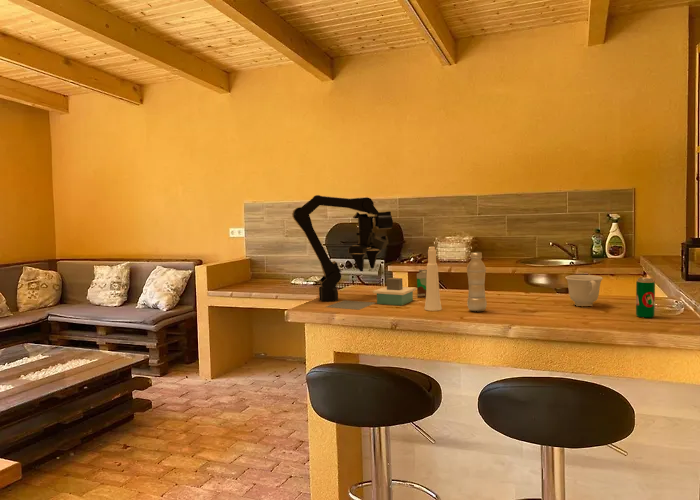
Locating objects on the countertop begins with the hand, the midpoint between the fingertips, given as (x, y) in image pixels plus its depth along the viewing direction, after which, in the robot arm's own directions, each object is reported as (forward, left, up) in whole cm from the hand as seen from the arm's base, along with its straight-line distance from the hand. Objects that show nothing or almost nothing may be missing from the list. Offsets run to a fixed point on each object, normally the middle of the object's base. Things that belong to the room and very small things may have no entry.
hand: (367, 269), depth 207 cm
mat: (+1, -15, -12) cm, 19 cm away
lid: (+14, -5, -7) cm, 16 cm away
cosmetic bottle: (+30, -8, -12) cm, 33 cm away
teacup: (+77, +14, -12) cm, 79 cm away
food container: (+18, +16, -12) cm, 27 cm away
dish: (+14, -5, -12) cm, 19 cm away
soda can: (+95, +3, -12) cm, 96 cm away
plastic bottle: (+45, -6, -12) cm, 47 cm away
